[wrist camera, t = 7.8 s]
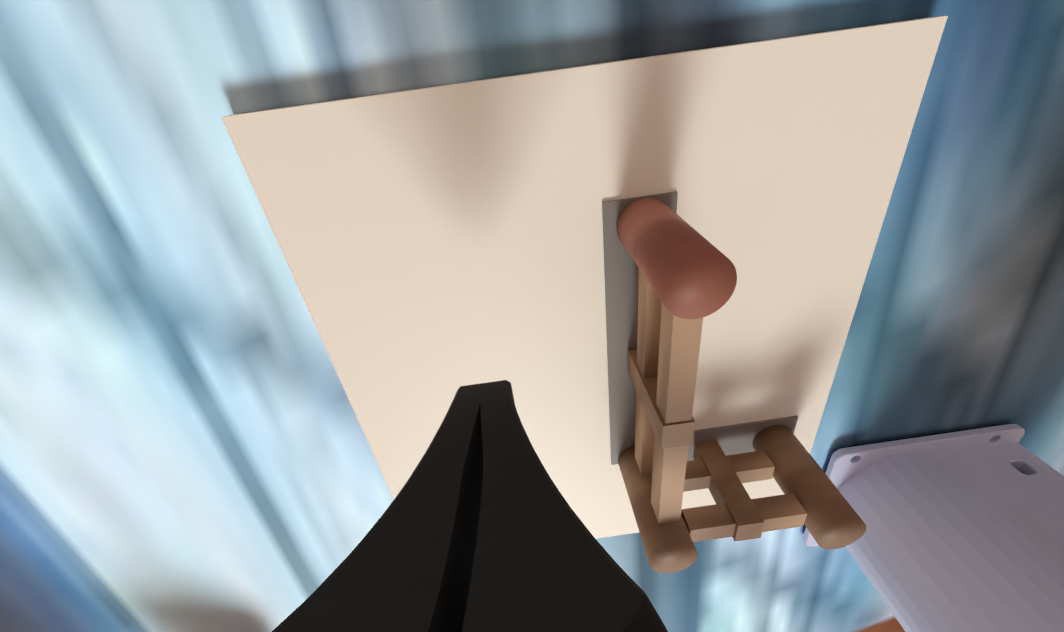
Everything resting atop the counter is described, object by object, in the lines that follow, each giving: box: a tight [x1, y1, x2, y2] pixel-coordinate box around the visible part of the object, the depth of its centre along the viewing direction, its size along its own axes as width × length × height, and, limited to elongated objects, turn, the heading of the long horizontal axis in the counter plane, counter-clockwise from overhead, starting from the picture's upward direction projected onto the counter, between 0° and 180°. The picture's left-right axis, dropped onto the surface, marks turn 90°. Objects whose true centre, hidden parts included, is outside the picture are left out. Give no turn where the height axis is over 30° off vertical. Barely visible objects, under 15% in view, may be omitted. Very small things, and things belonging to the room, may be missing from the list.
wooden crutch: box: [617, 198, 737, 524], centre depth 15 cm, size 11×2×4 cm, turn 6°
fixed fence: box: [618, 425, 866, 573], centre depth 18 cm, size 8×2×5 cm, turn 97°
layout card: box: [222, 16, 948, 539], centre depth 18 cm, size 20×22×1 cm
